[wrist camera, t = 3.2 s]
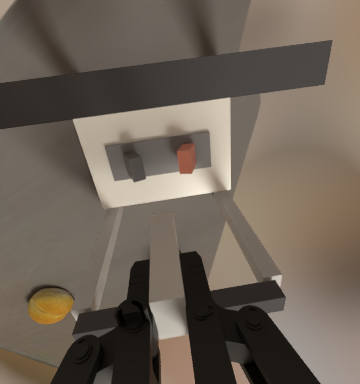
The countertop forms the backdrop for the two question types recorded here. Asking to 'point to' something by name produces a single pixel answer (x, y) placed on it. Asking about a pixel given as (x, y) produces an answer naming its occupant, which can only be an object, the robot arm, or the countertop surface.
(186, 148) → the terracotta block
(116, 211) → the white grey open frame
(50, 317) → the bread roll
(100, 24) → the countertop surface
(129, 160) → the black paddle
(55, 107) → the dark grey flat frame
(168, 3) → the countertop surface
